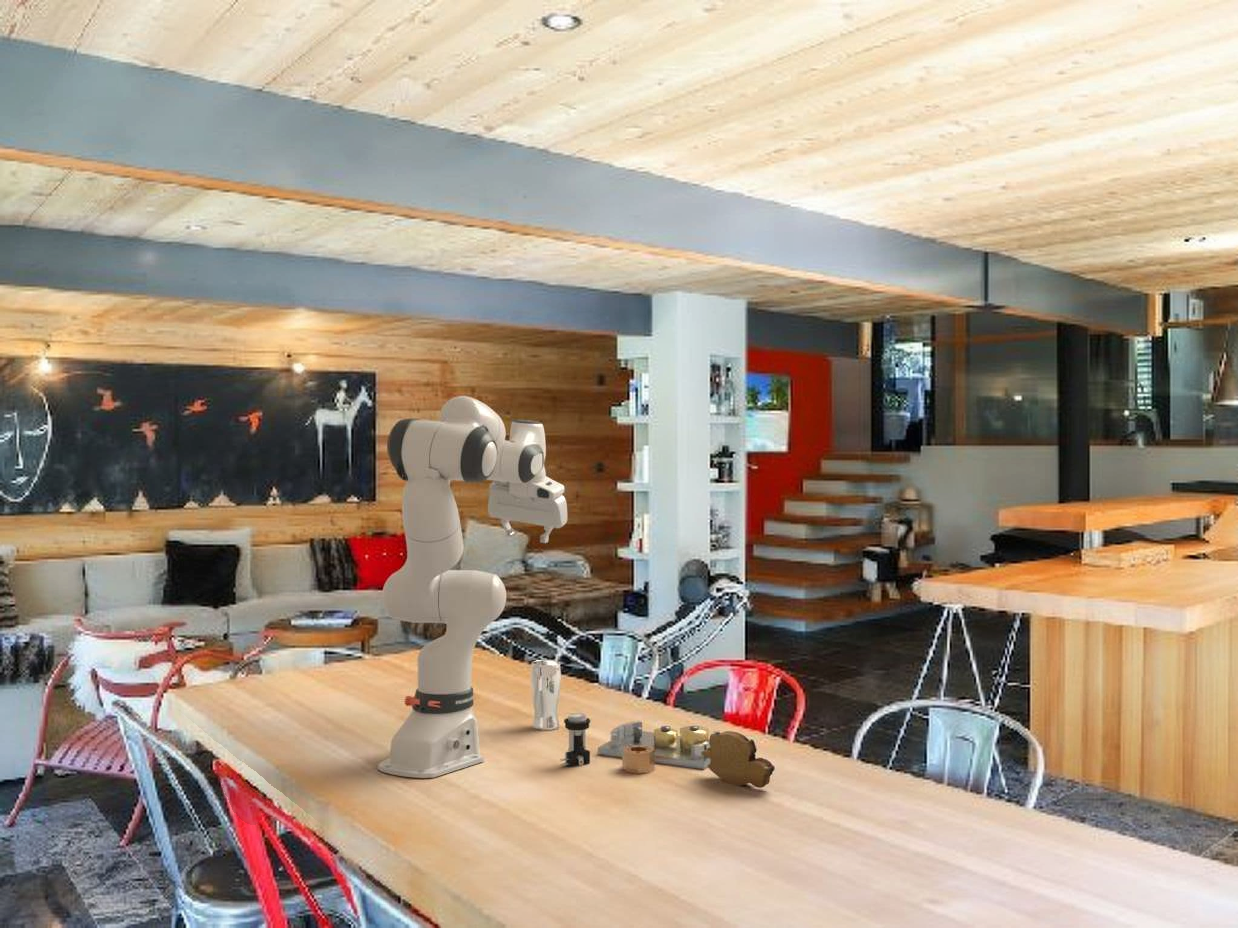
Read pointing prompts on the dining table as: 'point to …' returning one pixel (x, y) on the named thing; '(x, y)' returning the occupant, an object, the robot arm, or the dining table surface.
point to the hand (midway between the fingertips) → (527, 538)
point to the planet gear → (638, 759)
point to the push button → (576, 740)
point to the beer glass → (545, 693)
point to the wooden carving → (737, 760)
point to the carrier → (662, 744)
